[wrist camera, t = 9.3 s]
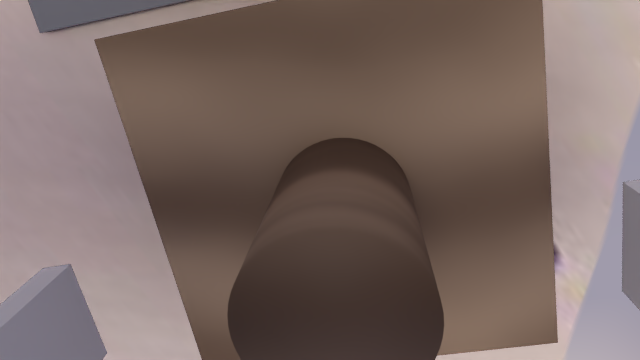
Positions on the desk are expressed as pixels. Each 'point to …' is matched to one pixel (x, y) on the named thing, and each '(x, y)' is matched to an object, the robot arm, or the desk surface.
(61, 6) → the rubber mat
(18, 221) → the desk surface
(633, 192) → the robot arm
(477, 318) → the walnut lid
